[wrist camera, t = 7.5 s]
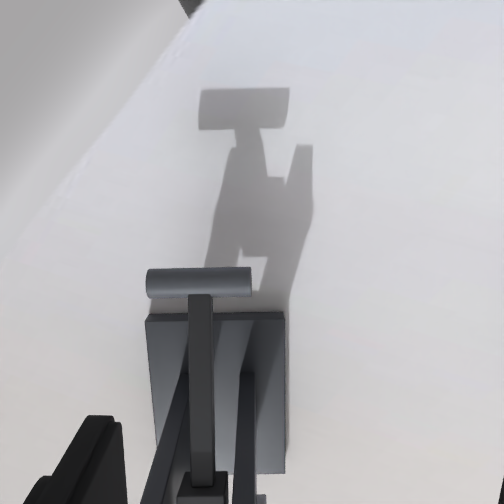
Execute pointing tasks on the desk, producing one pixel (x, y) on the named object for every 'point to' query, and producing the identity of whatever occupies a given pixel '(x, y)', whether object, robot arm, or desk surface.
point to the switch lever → (201, 367)
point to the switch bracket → (219, 401)
